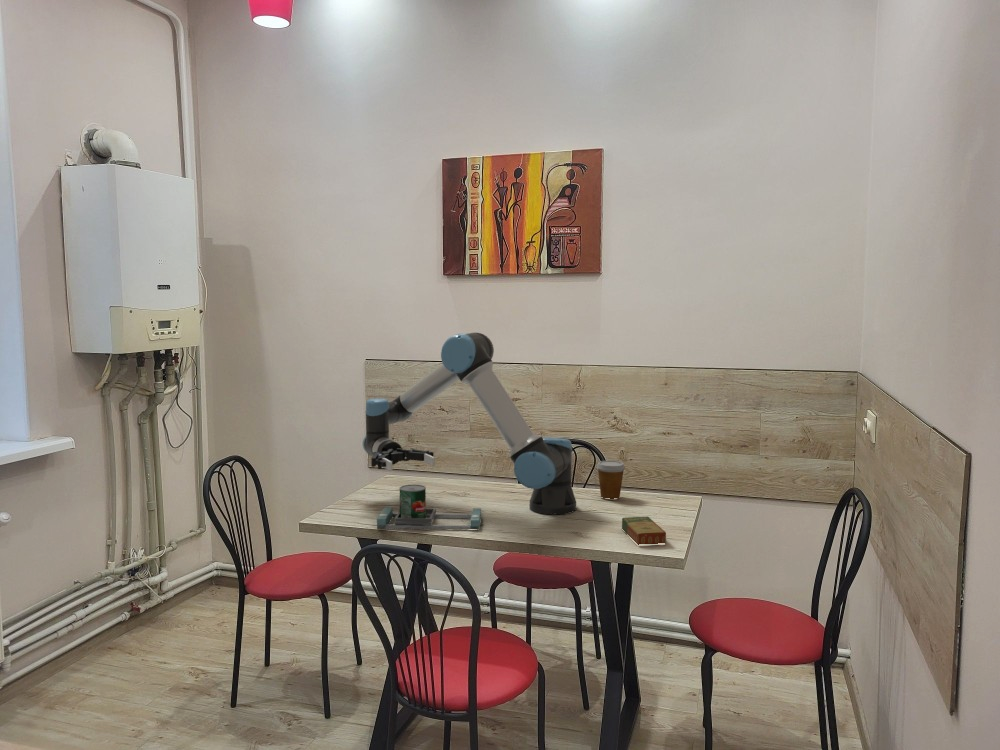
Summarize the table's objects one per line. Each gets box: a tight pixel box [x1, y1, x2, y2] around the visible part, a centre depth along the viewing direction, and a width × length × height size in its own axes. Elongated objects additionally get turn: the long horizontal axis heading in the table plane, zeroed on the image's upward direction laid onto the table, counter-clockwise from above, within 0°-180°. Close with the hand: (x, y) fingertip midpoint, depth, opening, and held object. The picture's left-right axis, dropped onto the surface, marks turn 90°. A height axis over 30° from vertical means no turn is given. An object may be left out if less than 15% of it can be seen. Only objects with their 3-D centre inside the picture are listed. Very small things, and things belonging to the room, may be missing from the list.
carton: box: [621, 516, 667, 545], centre depth 219 cm, size 8×16×4 cm, turn 7°
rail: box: [376, 512, 480, 530], centre depth 231 cm, size 30×13×1 cm, turn 88°
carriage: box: [393, 508, 437, 525], centre depth 231 cm, size 11×13×2 cm
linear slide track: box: [376, 506, 482, 530], centre depth 231 cm, size 30×13×3 cm, turn 88°
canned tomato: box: [399, 484, 427, 518], centre depth 231 cm, size 8×8×11 cm
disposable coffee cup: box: [596, 460, 626, 499], centre depth 260 cm, size 10×10×12 cm
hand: (412, 464), depth 228 cm, fingers open, 13 cm apart
